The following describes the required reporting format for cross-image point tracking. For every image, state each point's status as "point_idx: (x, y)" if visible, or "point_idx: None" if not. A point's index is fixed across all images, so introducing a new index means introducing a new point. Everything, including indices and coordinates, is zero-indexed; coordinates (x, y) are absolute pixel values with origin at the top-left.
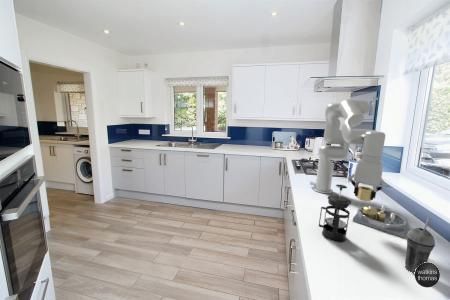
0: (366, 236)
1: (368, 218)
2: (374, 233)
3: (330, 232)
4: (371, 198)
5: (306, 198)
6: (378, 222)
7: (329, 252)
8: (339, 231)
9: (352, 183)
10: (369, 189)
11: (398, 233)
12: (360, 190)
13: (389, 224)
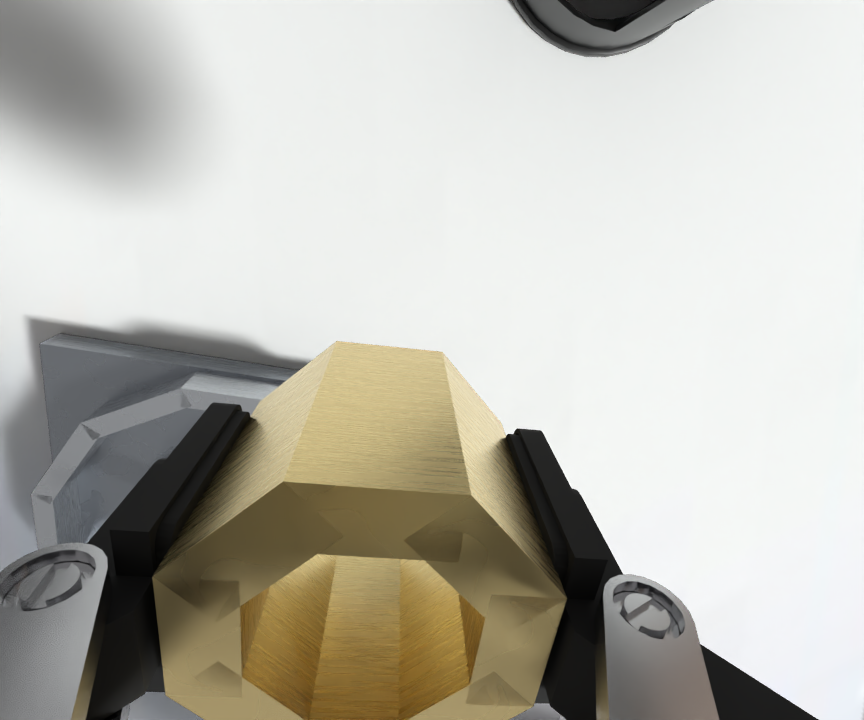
0: (322, 150)
1: None
2: (266, 265)
3: None
4: (229, 417)
5: (790, 584)
6: (233, 394)
7: None
8: (560, 30)
9: (772, 708)
10: (260, 663)
11: (85, 347)
12: (485, 484)
13: (143, 409)
